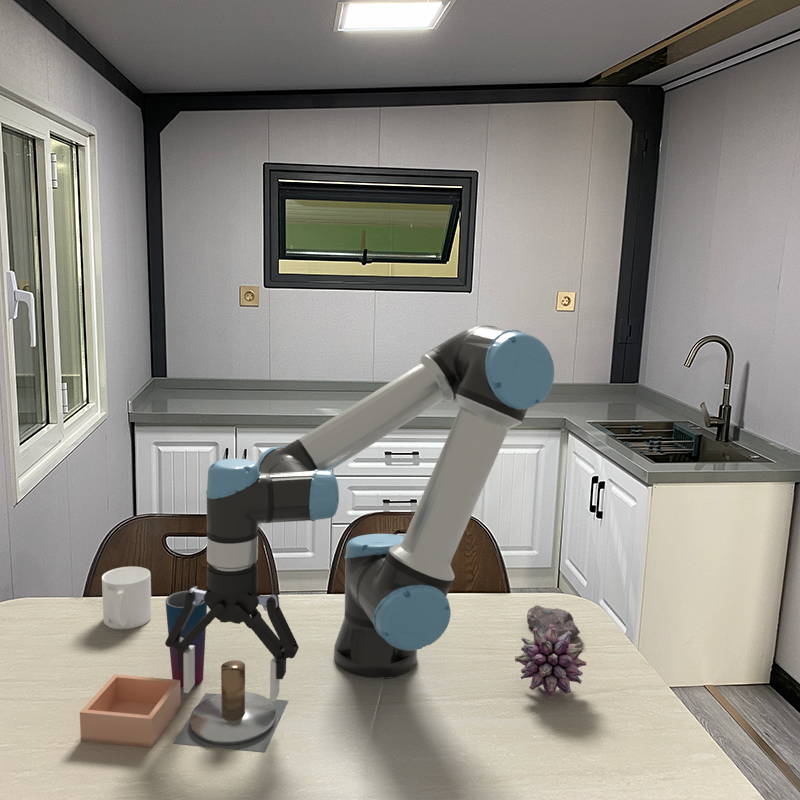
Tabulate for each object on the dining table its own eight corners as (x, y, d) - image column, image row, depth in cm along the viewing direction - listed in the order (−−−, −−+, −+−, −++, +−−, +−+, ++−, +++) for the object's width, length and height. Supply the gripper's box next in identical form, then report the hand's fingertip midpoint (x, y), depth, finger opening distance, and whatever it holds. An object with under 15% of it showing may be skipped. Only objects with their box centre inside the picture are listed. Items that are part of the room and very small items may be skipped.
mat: (288, 702, 130) (288, 700, 130) (264, 754, 116) (264, 752, 116) (205, 695, 132) (205, 693, 131) (172, 745, 118) (172, 743, 118)
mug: (116, 608, 163) (114, 565, 161) (158, 611, 162) (157, 568, 160) (87, 635, 151) (85, 588, 149) (133, 638, 150) (131, 592, 148)
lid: (284, 701, 130) (285, 649, 128) (262, 749, 117) (262, 692, 115) (207, 695, 131) (206, 643, 129) (177, 741, 118) (176, 684, 117)
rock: (552, 617, 165) (553, 596, 164) (585, 641, 155) (586, 620, 154) (518, 623, 162) (519, 602, 161) (549, 649, 152) (550, 626, 151)
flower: (561, 721, 127) (566, 652, 125) (499, 692, 135) (503, 627, 133) (597, 694, 136) (602, 629, 134) (537, 668, 144) (541, 606, 142)
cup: (197, 694, 132) (196, 609, 129) (159, 689, 133) (157, 604, 130) (215, 674, 138) (214, 593, 136) (178, 669, 140) (177, 588, 137)
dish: (180, 708, 127) (180, 680, 127) (152, 750, 117) (151, 718, 116) (115, 702, 128) (114, 674, 128) (81, 743, 118) (79, 712, 117)
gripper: (319, 559, 122) (316, 687, 125) (162, 547, 124) (163, 672, 128) (308, 578, 114) (305, 713, 118) (142, 564, 117) (144, 697, 121)
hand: (231, 692), depth 123 cm, fingers open, 13 cm apart
